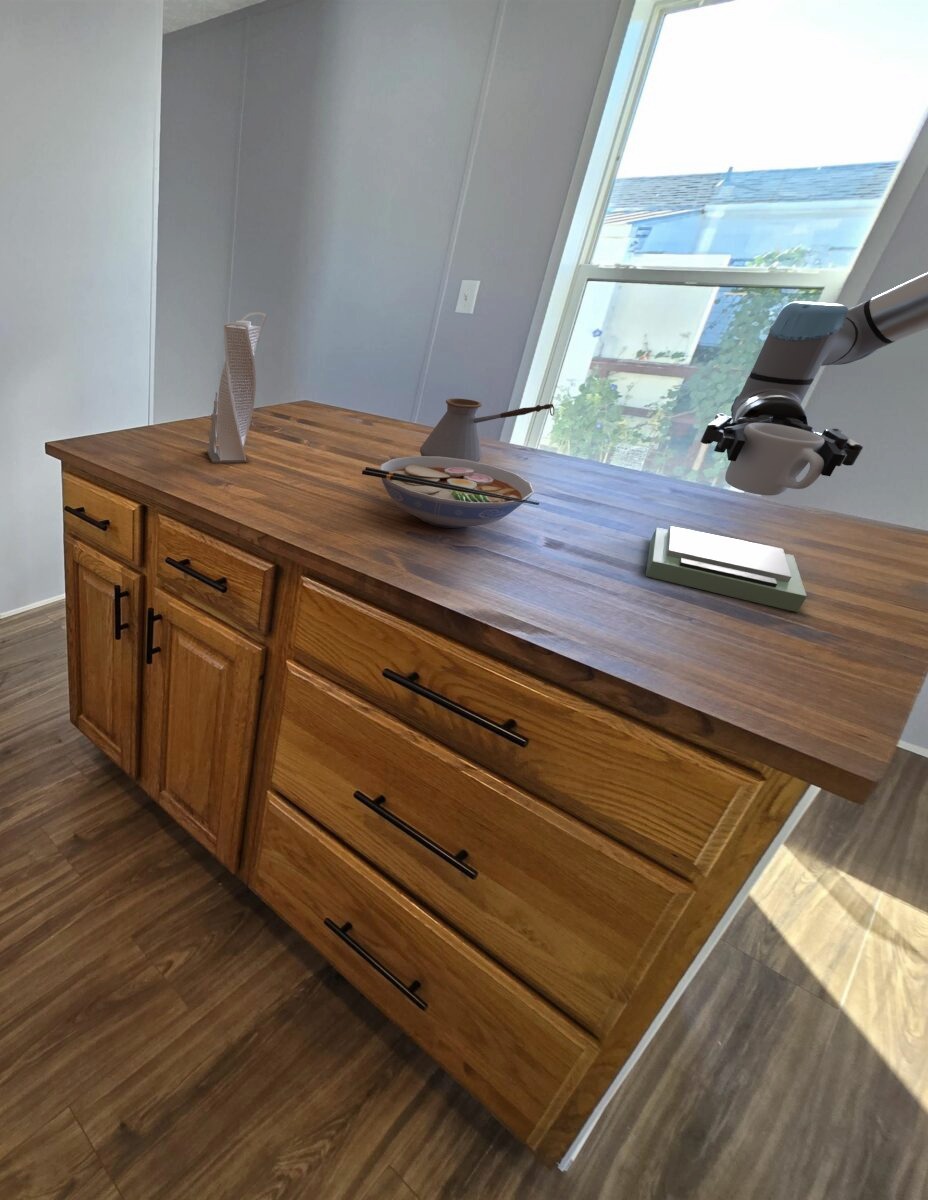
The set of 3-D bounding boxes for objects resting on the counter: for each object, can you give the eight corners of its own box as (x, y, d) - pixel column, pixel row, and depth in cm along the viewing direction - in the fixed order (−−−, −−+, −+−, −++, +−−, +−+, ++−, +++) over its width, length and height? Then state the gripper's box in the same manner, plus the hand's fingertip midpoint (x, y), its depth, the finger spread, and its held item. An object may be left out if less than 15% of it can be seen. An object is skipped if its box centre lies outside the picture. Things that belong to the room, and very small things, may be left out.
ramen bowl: (534, 515, 111) (550, 468, 107) (518, 564, 94) (536, 511, 90) (384, 485, 122) (393, 442, 118) (346, 524, 106) (355, 476, 102)
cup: (823, 511, 84) (864, 451, 80) (763, 508, 84) (801, 448, 79) (755, 478, 93) (788, 423, 89) (701, 476, 93) (731, 420, 88)
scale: (785, 570, 93) (796, 550, 92) (797, 612, 83) (810, 590, 81) (650, 541, 102) (658, 522, 100) (645, 576, 91) (654, 555, 90)
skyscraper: (245, 452, 140) (260, 309, 126) (254, 464, 133) (271, 314, 119) (206, 452, 139) (217, 309, 125) (213, 464, 132) (225, 314, 118)
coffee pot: (407, 465, 133) (425, 390, 125) (430, 454, 140) (448, 381, 133) (520, 492, 120) (547, 410, 113) (538, 478, 127) (565, 399, 120)
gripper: (851, 460, 94) (882, 505, 79) (671, 434, 105) (667, 469, 90) (882, 407, 91) (921, 444, 75) (692, 386, 102) (691, 413, 86)
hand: (782, 457), depth 82 cm, fingers closed on cup, 8 cm apart
